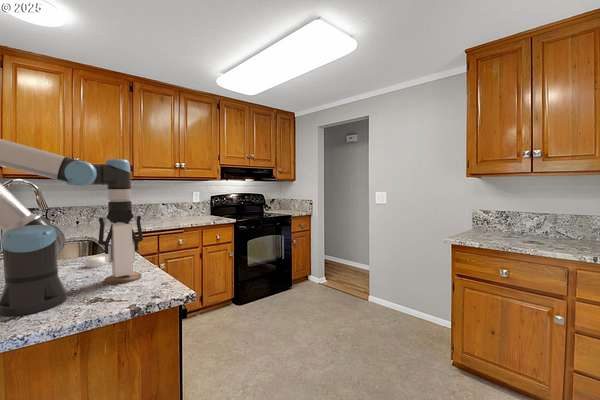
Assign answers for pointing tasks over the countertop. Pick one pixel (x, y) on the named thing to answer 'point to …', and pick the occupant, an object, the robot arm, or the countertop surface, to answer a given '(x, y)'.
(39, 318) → the countertop surface
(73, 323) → the countertop surface
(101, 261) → the cream rounded dome part
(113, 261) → the milk
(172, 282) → the countertop surface
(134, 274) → the disc
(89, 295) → the countertop surface
